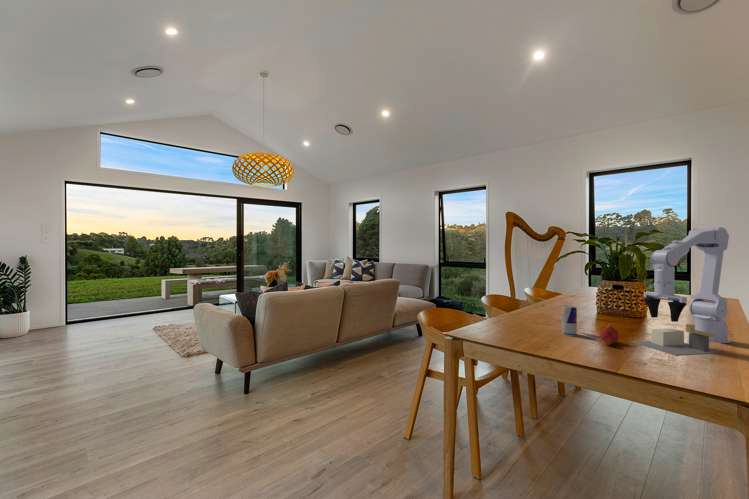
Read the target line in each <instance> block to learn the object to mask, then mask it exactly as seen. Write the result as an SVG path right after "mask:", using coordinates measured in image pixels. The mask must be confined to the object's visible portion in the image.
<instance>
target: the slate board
mask: <svg viewBox="0 0 749 499" xmlns="http://www.w3.org/2000/svg"><path fill="white" fill-rule="evenodd" d="M688 333H689V334H688V343H686V342H684V345H669V346H662V345H658V344H655V343H651V340H650V341H648V340H647V341H646V340H642V341H641V340H637V341H636V340H630V341H629V342H630V343H634V344H637V345H640V346H643V347H647V348H650V349H653V350H656V351H660V352H662V353H666V354H668V355H672V356H676V357H678V356H690V355H691V356H692V355H693V356H694V355H705V354H706V355H707V354H720V353H721V352H720V351H717V350H714V349H710V341H709V337H708V336H704V335H700V334H695V333H690V332H688Z"/></svg>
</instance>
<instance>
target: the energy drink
mask: <svg viewBox="0 0 749 499" xmlns="http://www.w3.org/2000/svg"><path fill="white" fill-rule="evenodd" d="M577 315H578V308H577V306H574V305H568V304H567V305H566V304H564V305H562V306H561V335H563V336H565V335H566V336H565V337H576V336H577V327H578V326H577V324H578V323H577V322H578V320H577V317H578V316H577Z"/></svg>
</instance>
